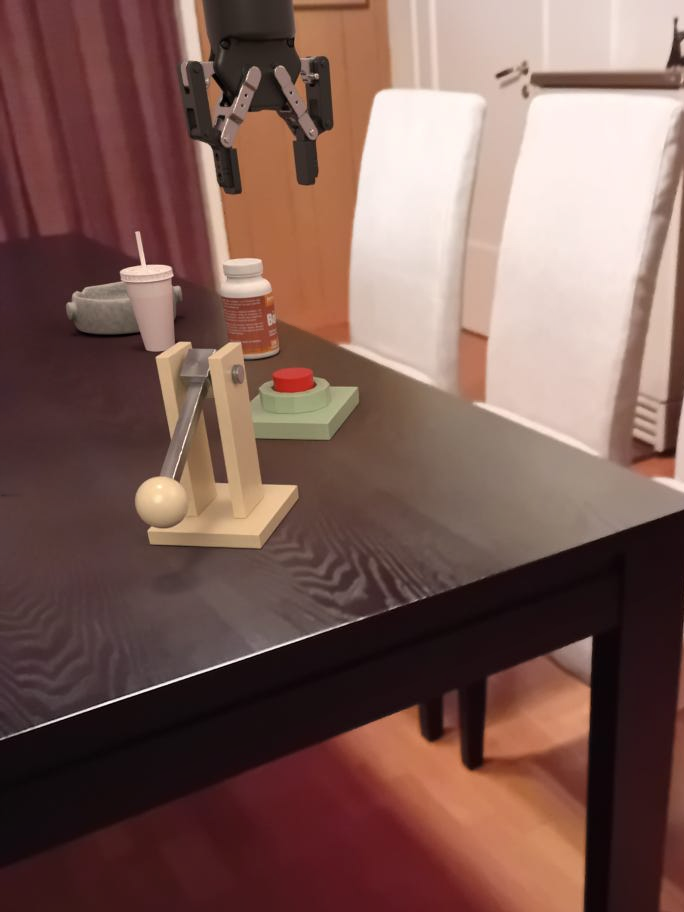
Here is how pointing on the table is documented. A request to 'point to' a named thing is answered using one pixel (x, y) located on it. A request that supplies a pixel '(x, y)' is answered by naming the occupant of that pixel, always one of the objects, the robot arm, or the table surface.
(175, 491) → the switch lever
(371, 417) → the table surface
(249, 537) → the switch
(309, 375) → the stop button
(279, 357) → the table surface
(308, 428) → the stop panel
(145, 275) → the smoothie
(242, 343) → the pill bottle
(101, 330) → the dish
